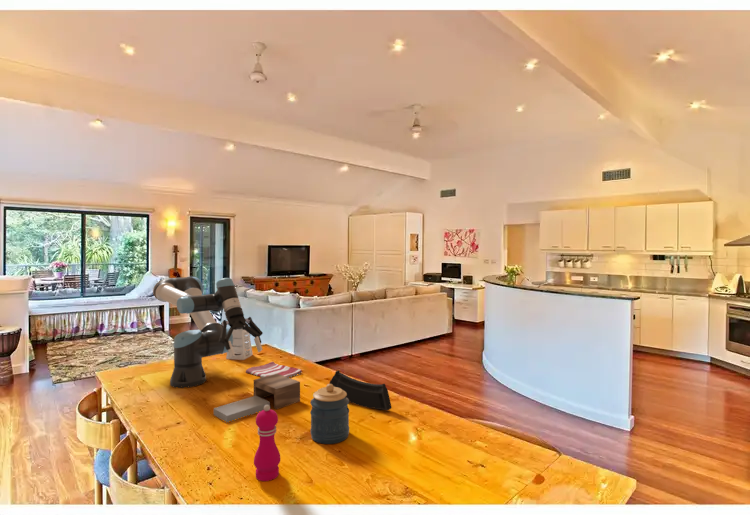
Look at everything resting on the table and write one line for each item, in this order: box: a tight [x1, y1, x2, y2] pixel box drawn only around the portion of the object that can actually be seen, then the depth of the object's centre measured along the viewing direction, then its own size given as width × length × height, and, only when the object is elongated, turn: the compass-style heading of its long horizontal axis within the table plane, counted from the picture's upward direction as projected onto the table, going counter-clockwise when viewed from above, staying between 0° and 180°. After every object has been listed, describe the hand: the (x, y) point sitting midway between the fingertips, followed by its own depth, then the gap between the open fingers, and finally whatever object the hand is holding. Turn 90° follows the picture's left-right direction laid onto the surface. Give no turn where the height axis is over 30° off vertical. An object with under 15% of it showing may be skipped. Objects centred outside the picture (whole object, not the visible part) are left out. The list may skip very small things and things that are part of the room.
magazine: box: [328, 370, 392, 411], centre depth 171 cm, size 17×3×30 cm
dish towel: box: [245, 361, 303, 378], centre depth 211 cm, size 17×23×3 cm
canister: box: [310, 383, 350, 445], centre depth 143 cm, size 13×13×18 cm
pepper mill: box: [253, 405, 281, 482], centre depth 119 cm, size 7×7×20 cm
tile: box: [213, 395, 271, 423], centre depth 163 cm, size 10×18×3 cm, turn 138°
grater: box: [225, 322, 254, 361], centre depth 239 cm, size 10×10×20 cm
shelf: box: [253, 374, 301, 410], centre depth 175 cm, size 16×12×8 cm
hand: (246, 353), depth 185 cm, fingers open, 13 cm apart
